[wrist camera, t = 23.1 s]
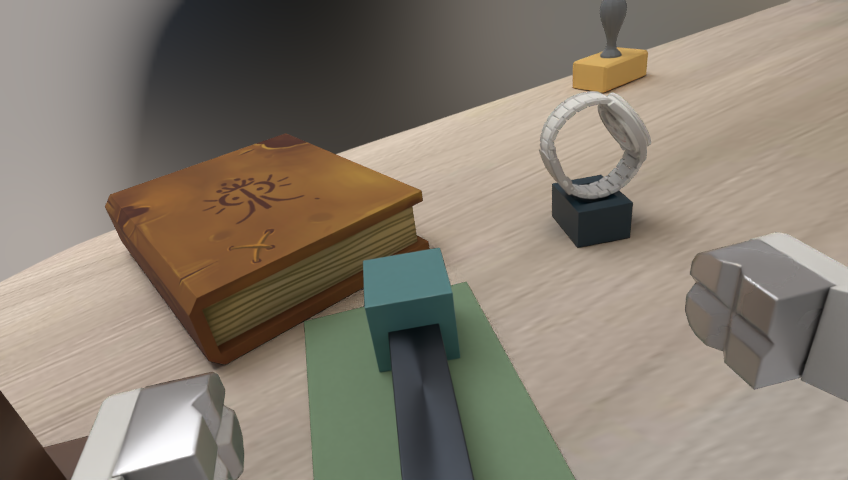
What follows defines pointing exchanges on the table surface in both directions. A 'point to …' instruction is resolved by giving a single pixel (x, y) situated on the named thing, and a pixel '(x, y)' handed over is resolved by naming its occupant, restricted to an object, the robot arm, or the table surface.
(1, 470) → the stand
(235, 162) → the diary
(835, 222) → the table surface
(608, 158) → the table surface
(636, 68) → the rubber stamp
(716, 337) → the robot arm
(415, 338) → the teal headed hammer
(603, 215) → the watch
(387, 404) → the mat
